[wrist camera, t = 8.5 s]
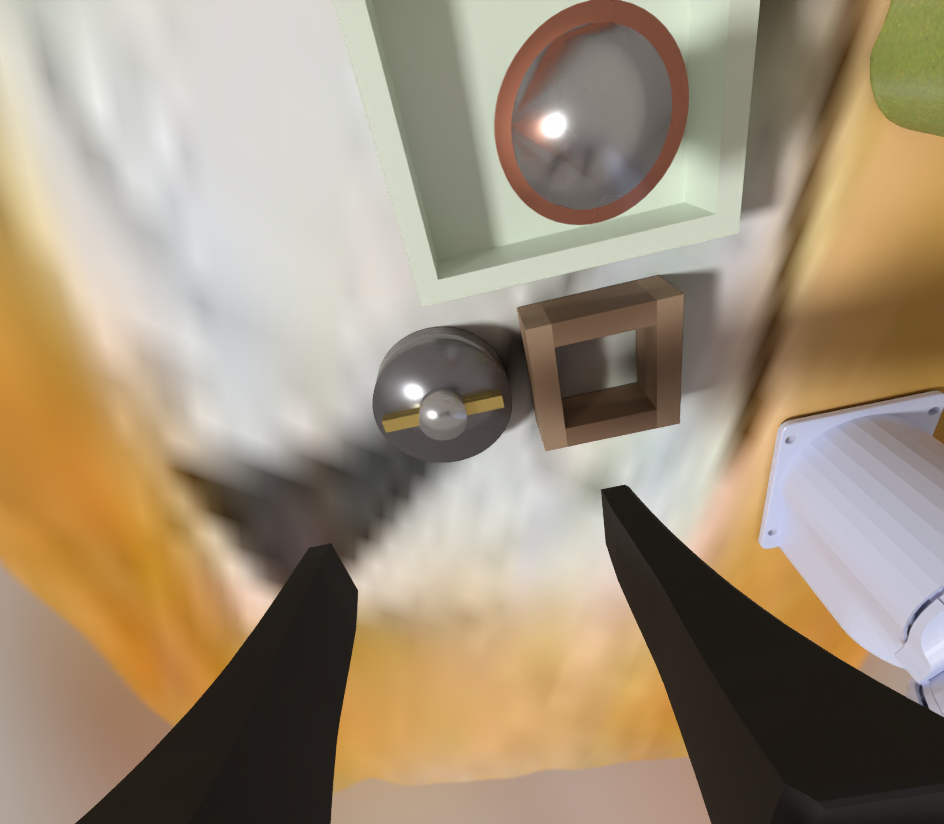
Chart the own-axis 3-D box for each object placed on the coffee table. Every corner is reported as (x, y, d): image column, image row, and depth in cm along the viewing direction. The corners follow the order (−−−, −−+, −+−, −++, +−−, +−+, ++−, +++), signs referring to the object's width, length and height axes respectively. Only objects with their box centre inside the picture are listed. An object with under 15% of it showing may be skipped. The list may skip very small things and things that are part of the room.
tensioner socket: (658, 395, 23) (679, 423, 21) (536, 421, 23) (545, 451, 21) (658, 275, 19) (683, 294, 17) (517, 307, 20) (525, 330, 18)
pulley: (516, 425, 23) (525, 461, 21) (399, 450, 24) (395, 488, 21) (493, 313, 20) (500, 340, 18) (358, 344, 20) (347, 374, 18)
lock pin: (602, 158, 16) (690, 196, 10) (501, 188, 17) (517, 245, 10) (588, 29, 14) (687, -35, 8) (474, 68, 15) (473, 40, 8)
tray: (697, 216, 18) (738, 233, 16) (424, 280, 19) (421, 307, 16) (716, -220, 12) (788, -306, 10) (317, -100, 13) (288, -150, 10)
